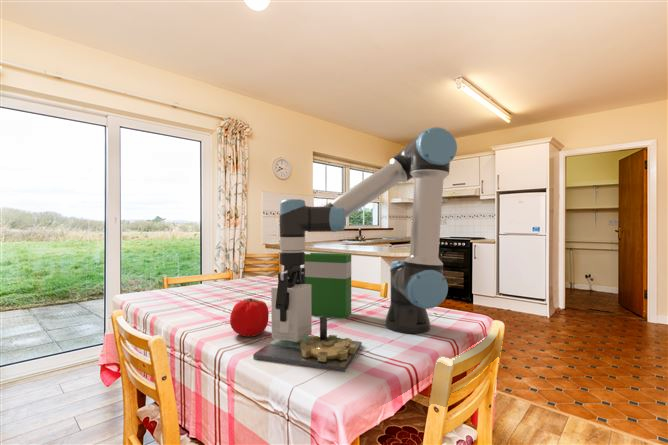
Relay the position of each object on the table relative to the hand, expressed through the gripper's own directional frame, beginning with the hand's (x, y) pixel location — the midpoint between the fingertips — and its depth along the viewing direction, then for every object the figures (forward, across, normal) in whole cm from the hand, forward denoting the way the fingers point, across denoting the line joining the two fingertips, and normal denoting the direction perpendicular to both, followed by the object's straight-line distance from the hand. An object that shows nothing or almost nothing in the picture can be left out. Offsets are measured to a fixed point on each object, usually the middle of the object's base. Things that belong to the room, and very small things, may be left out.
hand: (292, 327), depth 96 cm
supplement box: (+3, 0, 0) cm, 3 cm away
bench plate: (+5, +4, +7) cm, 10 cm away
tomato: (+5, -4, -17) cm, 18 cm away
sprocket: (+4, +5, +13) cm, 14 cm away
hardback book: (+5, -35, -1) cm, 35 cm away
